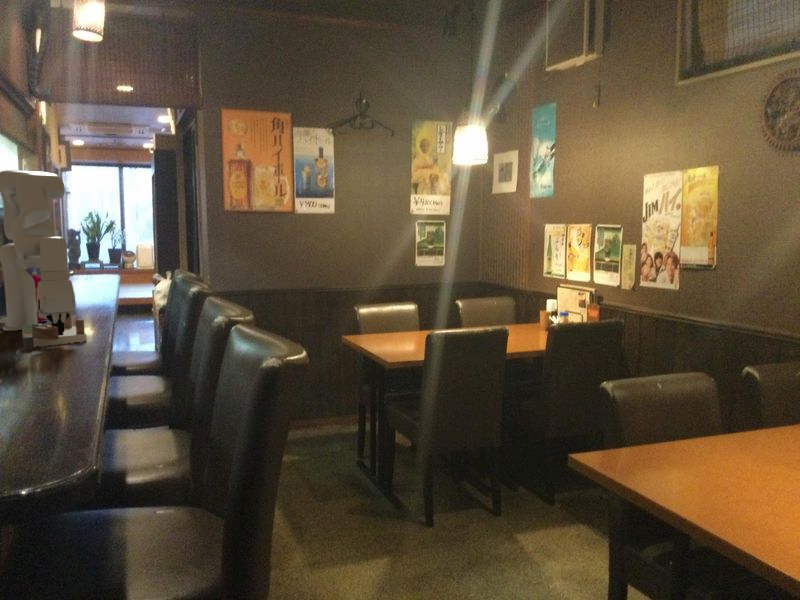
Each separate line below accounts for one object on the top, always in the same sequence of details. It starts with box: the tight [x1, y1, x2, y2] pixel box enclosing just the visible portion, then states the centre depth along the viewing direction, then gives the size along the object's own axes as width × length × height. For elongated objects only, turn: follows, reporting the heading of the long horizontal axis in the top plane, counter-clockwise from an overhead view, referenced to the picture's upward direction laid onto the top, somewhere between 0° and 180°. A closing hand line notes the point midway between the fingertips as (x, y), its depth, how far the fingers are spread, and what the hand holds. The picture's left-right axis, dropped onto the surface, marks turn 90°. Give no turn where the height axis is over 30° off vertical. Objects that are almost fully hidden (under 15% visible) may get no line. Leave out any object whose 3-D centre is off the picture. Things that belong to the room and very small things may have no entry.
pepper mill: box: [31, 271, 48, 321], centre depth 253 cm, size 7×7×20 cm
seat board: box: [21, 316, 87, 352], centre depth 208 cm, size 28×18×7 cm, turn 36°
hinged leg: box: [33, 326, 59, 340], centre depth 198 cm, size 2×10×4 cm, turn 57°
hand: (58, 334), depth 200 cm, fingers closed
